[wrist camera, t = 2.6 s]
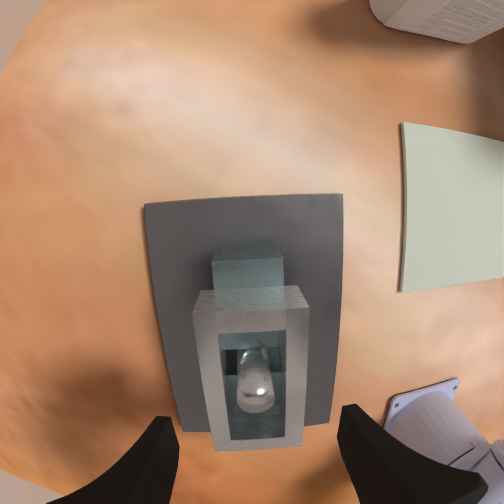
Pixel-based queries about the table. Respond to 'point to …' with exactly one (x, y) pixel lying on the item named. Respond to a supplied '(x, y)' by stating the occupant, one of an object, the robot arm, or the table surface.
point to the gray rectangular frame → (290, 364)
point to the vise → (247, 276)
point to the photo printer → (442, 17)
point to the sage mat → (451, 208)
